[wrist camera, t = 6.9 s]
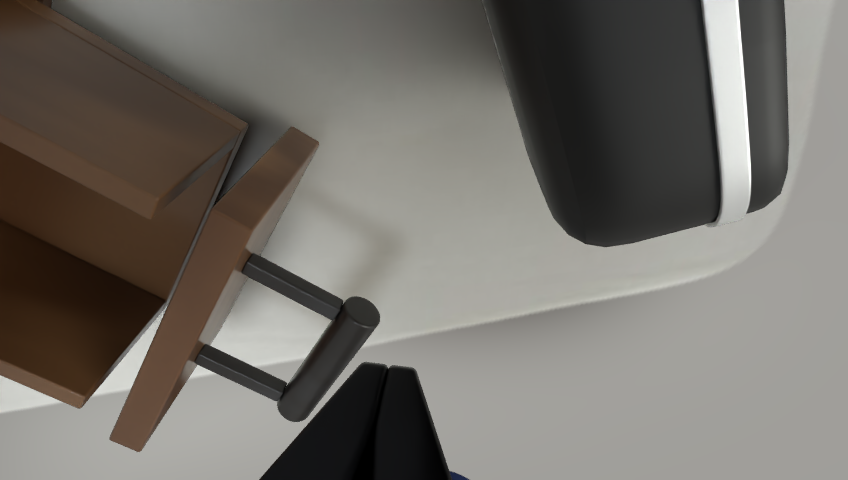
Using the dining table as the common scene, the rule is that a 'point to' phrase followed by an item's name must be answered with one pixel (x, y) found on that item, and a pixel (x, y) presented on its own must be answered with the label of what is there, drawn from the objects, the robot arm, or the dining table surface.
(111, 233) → the drawer
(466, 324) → the dining table surface
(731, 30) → the battery charger
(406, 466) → the robot arm
